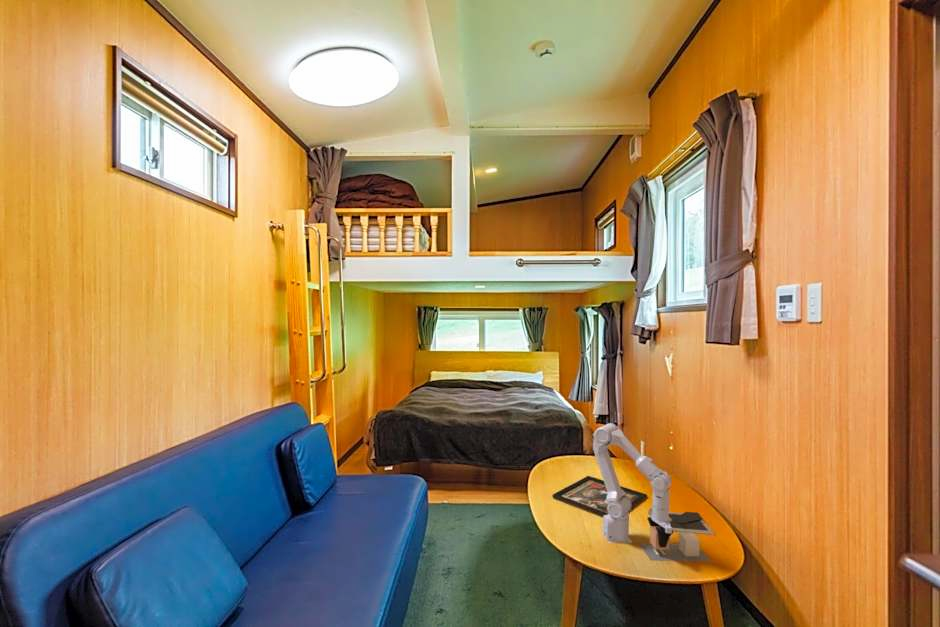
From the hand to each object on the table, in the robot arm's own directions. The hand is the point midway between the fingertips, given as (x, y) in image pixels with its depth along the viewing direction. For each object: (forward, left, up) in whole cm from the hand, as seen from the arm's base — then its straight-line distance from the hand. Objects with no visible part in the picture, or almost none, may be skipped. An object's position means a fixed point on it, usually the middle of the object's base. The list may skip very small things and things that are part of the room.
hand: (659, 542), depth 159 cm
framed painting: (-7, +46, -5) cm, 47 cm away
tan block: (+11, 0, -3) cm, 12 cm away
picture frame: (+19, +22, -5) cm, 29 cm away
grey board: (+6, 0, -4) cm, 7 cm away
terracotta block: (0, 0, -1) cm, 1 cm away
